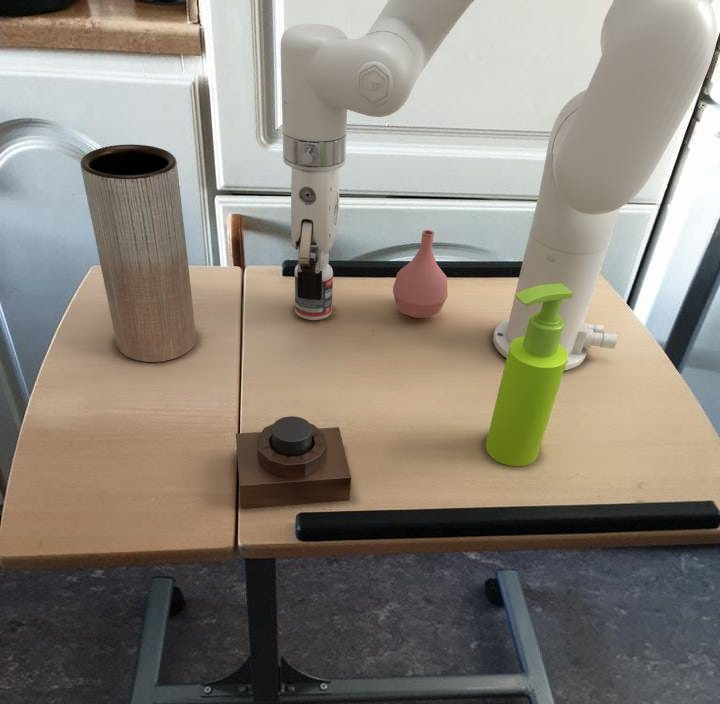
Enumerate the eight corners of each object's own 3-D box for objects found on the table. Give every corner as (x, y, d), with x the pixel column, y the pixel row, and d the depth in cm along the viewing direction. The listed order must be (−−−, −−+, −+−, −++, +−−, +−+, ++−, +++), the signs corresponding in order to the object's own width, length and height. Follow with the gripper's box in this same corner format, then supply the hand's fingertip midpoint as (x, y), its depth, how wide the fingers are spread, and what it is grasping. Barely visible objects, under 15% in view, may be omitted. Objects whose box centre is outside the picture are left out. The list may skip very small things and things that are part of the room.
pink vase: (385, 322, 98) (393, 239, 90) (396, 296, 104) (404, 216, 96) (439, 332, 97) (453, 249, 89) (447, 305, 103) (461, 225, 95)
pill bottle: (331, 322, 97) (332, 261, 91) (293, 320, 97) (292, 259, 91) (333, 303, 101) (334, 243, 95) (296, 300, 101) (295, 241, 95)
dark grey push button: (309, 430, 73) (309, 414, 71) (314, 456, 70) (314, 440, 68) (270, 432, 72) (269, 417, 71) (273, 458, 69) (273, 442, 68)
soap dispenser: (468, 440, 80) (503, 279, 67) (519, 428, 83) (563, 270, 69) (494, 473, 77) (538, 309, 63) (547, 459, 79) (600, 298, 65)
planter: (198, 360, 88) (177, 176, 73) (115, 365, 87) (75, 177, 71) (195, 319, 96) (175, 143, 80) (118, 323, 94) (83, 143, 78)
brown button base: (337, 449, 78) (339, 413, 74) (349, 500, 72) (352, 464, 69) (237, 456, 76) (234, 419, 73) (241, 508, 70) (238, 472, 67)
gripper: (334, 177, 78) (331, 322, 90) (354, 129, 90) (349, 262, 102) (268, 170, 78) (273, 315, 90) (296, 123, 90) (298, 257, 103)
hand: (313, 286), depth 96 cm, fingers closed on pill bottle, 5 cm apart
